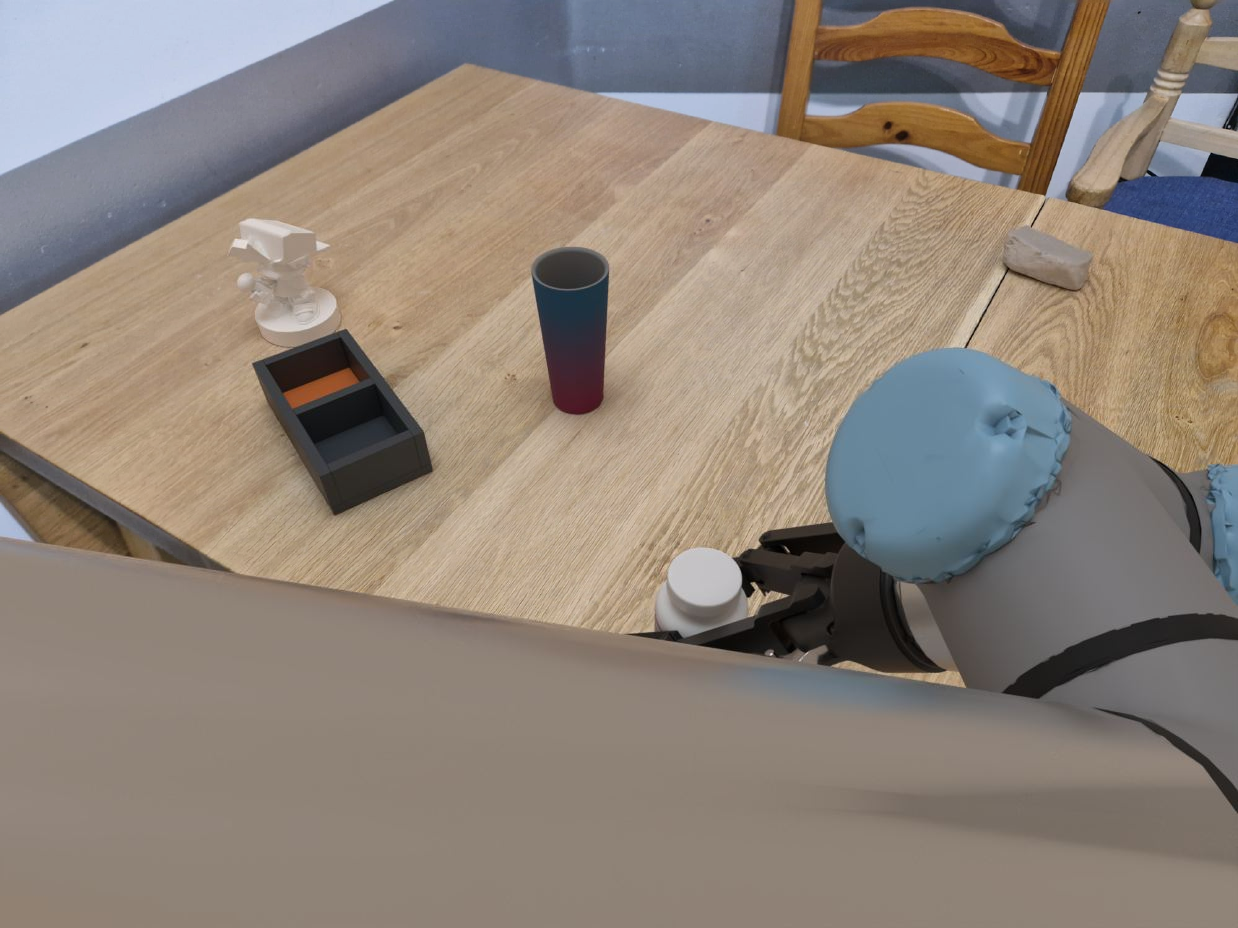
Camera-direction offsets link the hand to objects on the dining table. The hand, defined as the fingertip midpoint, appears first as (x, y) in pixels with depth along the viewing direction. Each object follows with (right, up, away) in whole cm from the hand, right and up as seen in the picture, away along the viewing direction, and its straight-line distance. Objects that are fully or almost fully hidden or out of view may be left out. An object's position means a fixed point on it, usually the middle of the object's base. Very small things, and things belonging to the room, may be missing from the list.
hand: (654, 618), depth 60 cm
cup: (-7, +17, +25) cm, 31 cm away
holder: (-28, +14, +22) cm, 38 cm away
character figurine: (-37, +27, +35) cm, 57 cm away
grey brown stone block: (+47, +33, +40) cm, 70 cm away
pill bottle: (+3, -4, +1) cm, 5 cm away
